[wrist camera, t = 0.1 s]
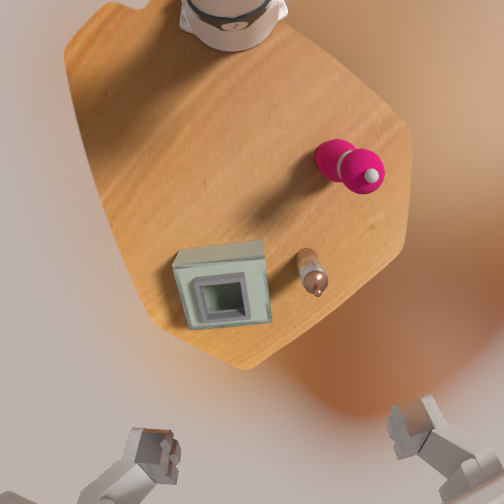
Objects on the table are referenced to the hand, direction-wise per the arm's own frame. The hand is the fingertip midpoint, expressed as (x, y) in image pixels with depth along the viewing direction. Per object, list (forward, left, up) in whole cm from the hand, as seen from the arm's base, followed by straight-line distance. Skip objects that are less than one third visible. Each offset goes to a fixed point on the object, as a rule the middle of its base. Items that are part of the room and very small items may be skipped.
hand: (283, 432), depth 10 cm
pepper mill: (-3, +14, -48) cm, 50 cm away
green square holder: (+18, -8, -48) cm, 52 cm away
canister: (+16, +8, -48) cm, 51 cm away
